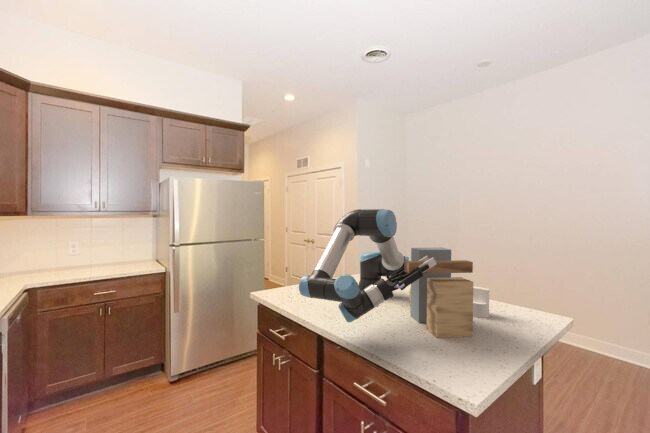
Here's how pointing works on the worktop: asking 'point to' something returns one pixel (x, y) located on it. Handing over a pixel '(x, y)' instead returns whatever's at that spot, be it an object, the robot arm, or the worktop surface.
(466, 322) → the oak block
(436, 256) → the slate-grey stand
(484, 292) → the cylinder with rectangular tab
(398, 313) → the worktop surface
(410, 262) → the walnut block
